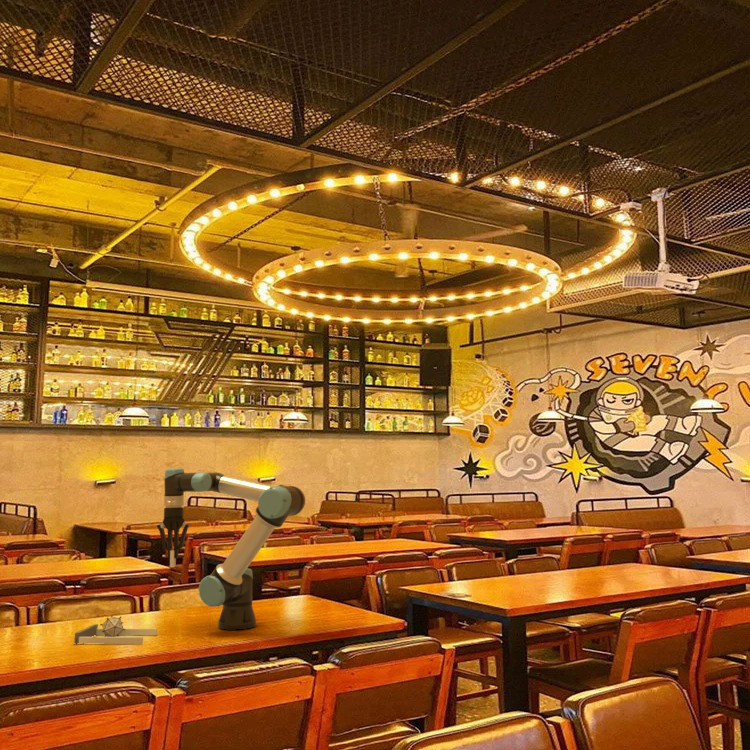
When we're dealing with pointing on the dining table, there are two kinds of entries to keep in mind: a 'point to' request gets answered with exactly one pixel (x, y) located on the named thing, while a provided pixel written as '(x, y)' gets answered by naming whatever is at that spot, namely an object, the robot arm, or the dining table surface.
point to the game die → (112, 626)
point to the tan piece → (92, 630)
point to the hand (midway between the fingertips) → (172, 566)
